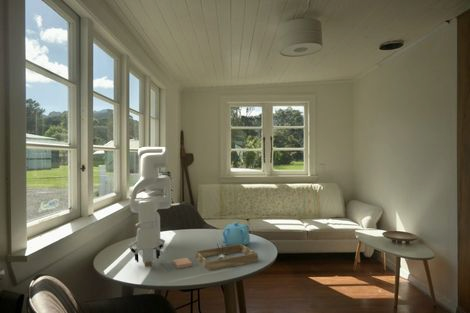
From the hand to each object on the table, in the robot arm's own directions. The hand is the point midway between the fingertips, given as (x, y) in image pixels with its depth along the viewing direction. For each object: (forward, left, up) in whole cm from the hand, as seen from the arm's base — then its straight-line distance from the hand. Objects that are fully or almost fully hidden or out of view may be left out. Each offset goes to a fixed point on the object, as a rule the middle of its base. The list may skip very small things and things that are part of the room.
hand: (147, 259), depth 144 cm
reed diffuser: (+11, +37, -3) cm, 39 cm away
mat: (+8, +14, -3) cm, 16 cm away
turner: (+2, 0, +3) cm, 4 cm away
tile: (+5, +15, -1) cm, 16 cm away
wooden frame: (+12, +37, -3) cm, 39 cm away
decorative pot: (-9, +53, -3) cm, 54 cm away
